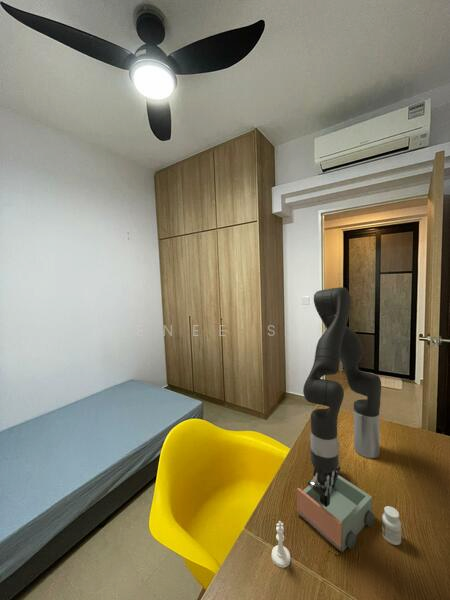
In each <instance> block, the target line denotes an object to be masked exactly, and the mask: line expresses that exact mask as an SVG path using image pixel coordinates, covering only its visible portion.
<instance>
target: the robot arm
mask: <svg viewBox="0 0 450 600" xmlns="http://www.w3.org/2000/svg"><path fill="white" fill-rule="evenodd" d="M313 303H314V307H315V310H316V312H317V314H318V316H319V318H320V319H321V321H322V322H323V324H324V326H325V328H326V329H325V331H324V332H323V334H322V335H321V336H320V337H319V339H318V341H317V344H316V347H315V353H314V359H313V365H312V367H311V370H310V372H309V374H308V375H307V378H306V380H305V383H304V385H303V388H302V389H303V391H302V393H303V396H304V398H305V401H306V402H308V403H311V404H314V405H319V406H324V407H328V408H316V409H313V410H312V411H311V413H310V436H309V437H310V438H309V439H310V440H309V441H310V450H309V451H310V462H311V463H312V465H313V471H312V475H313V476H312V477H313V478H312V479H308V481H307V485H308V486H310V487H311V488H312V489H313V490H314V491H315V492H316V493H318V494H319V495H320V502H321V503H322V504H323V505H324V506H325V507H327V506H328V505H329V504H330V493H331V488H334V487H335V484H336V481H337V477H338V475H339V474H340V472H341V467H340V466H339V460H340V459H339V438H338V418H339V417H338V416H339V413H340V409H341V406H342V403H343V400H344V397H345V394H344V393H345V390H344V387H343V386H342V384H341V383H340V382H338V381H336V380H330V379H329V380H328V379H323V378H322V377H324V376H333V375H335V374H338V372H339V369H340V363H341V365H342V367H343V370H344V373H345V377H346V380H347V384H348V387H349V388H350V390H351V391H352V392H354V393H356V394H358V395H362V396H364V397H366V399H365V398H364V399H363V398H362V399H356V400H355V401H354V402H353V449H354V451H355V452H356V453H357V455H360V456H361V457H364V458H368V459H377V458H378V457H380V444H381V443H380V409H381V398H382V397H381V396H382V395H381V394H382V381H381V380H382V379H381V378H380V376H379V375H378V374H374V373H370V372H367V371H363V370H360V369H359V367H358V364H359V362H360V361H361V360H362V358H363V356H364V347H363V345H362V342H361V338H360V337H359V335H358V334H357V333H356V332H355V331H354V330H353V329H352V328H350V327H349V326H347V325H348V321H349V317H350V313H351V309H352V297H351V294H350V292H349V290H348V288H346V287H343V286H339V287H333V288H327V289H321V290H317V291H316V292H315V293H314V295H313Z"/></svg>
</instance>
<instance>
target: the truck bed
mask: <svg viewBox="0 0 450 600" xmlns="http://www.w3.org/2000/svg"><path fill="white" fill-rule="evenodd" d="M302 491H304V492H305V493H306V494H307V495H309V496H310V497H311V498H312V499H313V500H315V501H316V502H317V503H318V504H320V505H321V506H322V507H323V508H325V509H326V510H327V511H328V512H330V513H331V514H332V515H333V516H335V517H336V518H337V519H338V520H339V521H341V522H342V546H341V547H342V549H341V552H344V551H345V550H346V549H347V548H349V549H350V550H354V548H355V546H356V545H357V540H358V537H357V536H358V534H359V533H360V532H361V531H362V530H363V528H364V527H365V526H368V527H369V528H371V527H372V526H373V525H374V523H375V522H374V521H375V514H374V512H373V496H371V495H370V494H368V493H367V492H365V491H364V490H363V489H361V488H359V487H358V486H356V485H355V484H353V483H351V482H350V481H348V480H347V479H346V478H344V477H343V476H341V475H339V474H338V477H337V481H336V484H335V487H334V488H331V493H330V504H329V505H328V506H327V507H325V506H324V505H323V504H322V503H321V502H320V495H319V494H318V493H316V492H315V491H314V490H313V489H312V488H311V487H310V486H309V485H308V486H307V487H305V488H304V489H303V490H302Z"/></svg>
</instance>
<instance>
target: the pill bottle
mask: <svg viewBox="0 0 450 600" xmlns="http://www.w3.org/2000/svg"><path fill="white" fill-rule="evenodd" d="M381 527H382V528H381V530H382V531H381V532H382V536H383V538H384V540H385V541H386V542H388V543H389V544H392V545H393V546H399V545H401V544H402V522H401V520H400V513H399V511H398V510H397V509H396V508H394V507H392V506H389V505H387V506H385V507H384V508H383V513H382V516H381Z"/></svg>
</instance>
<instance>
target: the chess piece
mask: <svg viewBox="0 0 450 600" xmlns="http://www.w3.org/2000/svg"><path fill="white" fill-rule="evenodd" d="M275 531H276V532H277V533H276V535H275V539H276V540H277V541H278V542H277V545H275V546H273V548H272V550H271V560H272V563H274V564H275V566H277V567H278V568H287V567H288V566H289V565H290V563H291V553H290V550H289V549H288V548H287V547H285V546H284V541H285V536H284V532H285V529H284V522H282V521H281V520H278V523H276V528H275Z"/></svg>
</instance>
